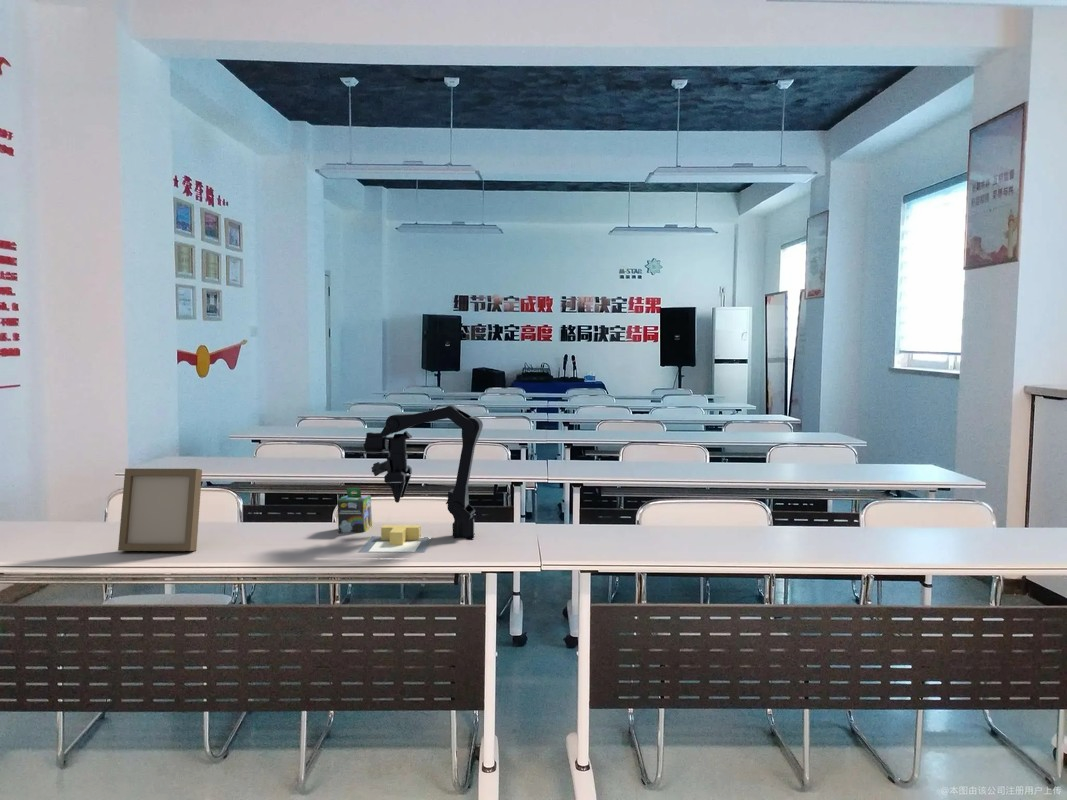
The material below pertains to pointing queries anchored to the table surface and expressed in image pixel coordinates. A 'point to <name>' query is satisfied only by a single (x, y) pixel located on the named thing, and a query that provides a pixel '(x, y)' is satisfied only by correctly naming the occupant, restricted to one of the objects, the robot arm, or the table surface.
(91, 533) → the table surface
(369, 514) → the chalk box
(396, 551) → the mat
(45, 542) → the table surface
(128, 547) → the photo frame
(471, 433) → the robot arm
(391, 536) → the T block
